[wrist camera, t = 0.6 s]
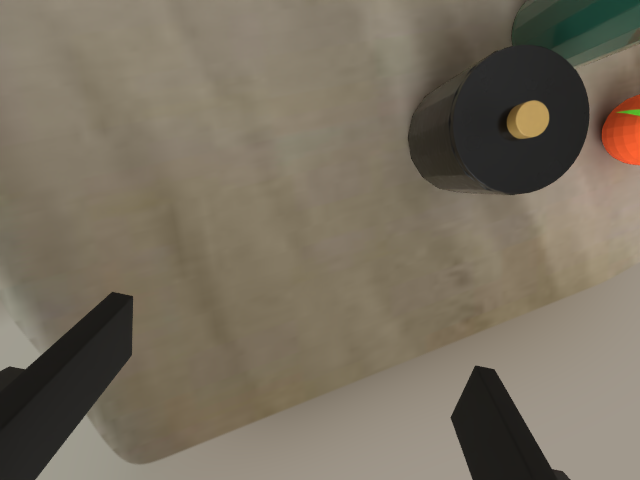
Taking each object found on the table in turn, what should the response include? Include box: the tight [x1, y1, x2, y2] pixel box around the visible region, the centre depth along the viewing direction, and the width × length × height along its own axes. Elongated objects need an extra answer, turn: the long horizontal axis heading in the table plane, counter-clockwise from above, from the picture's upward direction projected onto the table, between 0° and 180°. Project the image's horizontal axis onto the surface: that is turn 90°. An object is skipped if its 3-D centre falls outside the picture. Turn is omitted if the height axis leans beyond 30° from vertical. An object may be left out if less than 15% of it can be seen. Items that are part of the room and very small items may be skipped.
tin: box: [512, 0, 640, 69], centre depth 30 cm, size 8×8×14 cm
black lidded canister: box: [408, 45, 589, 195], centre depth 32 cm, size 11×11×11 cm
